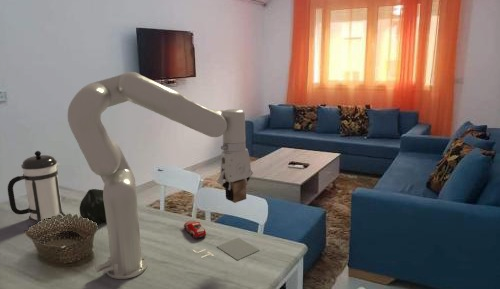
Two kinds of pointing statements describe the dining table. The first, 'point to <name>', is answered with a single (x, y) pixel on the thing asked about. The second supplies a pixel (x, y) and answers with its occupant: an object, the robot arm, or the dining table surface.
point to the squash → (93, 206)
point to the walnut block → (239, 190)
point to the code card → (204, 255)
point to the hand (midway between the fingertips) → (236, 197)
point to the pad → (238, 248)
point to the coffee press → (39, 188)
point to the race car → (195, 229)
